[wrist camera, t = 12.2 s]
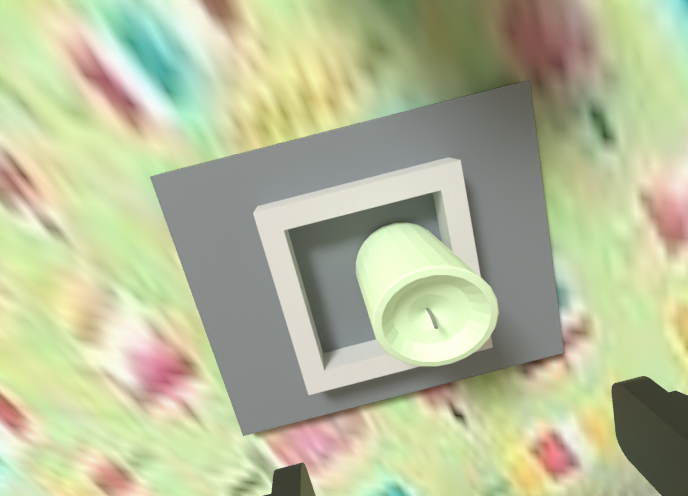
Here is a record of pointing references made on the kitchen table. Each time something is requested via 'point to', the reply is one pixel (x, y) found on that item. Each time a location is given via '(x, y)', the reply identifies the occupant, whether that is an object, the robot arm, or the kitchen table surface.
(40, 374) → the kitchen table surface
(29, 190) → the kitchen table surface
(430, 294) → the candle
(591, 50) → the kitchen table surface
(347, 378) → the holder board
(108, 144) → the kitchen table surface
